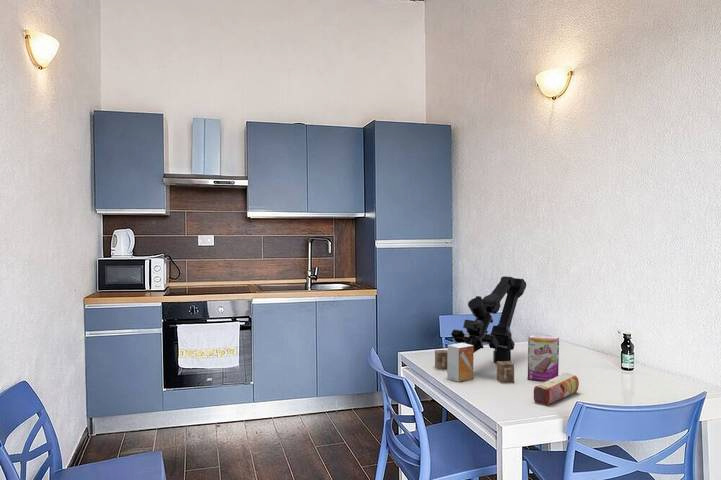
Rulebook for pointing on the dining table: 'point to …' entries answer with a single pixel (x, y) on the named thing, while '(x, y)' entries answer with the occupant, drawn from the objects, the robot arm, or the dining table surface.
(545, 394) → the snack package
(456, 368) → the small box
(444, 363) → the walnut block one
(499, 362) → the walnut block seven
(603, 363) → the dining table surface
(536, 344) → the candy bar box
